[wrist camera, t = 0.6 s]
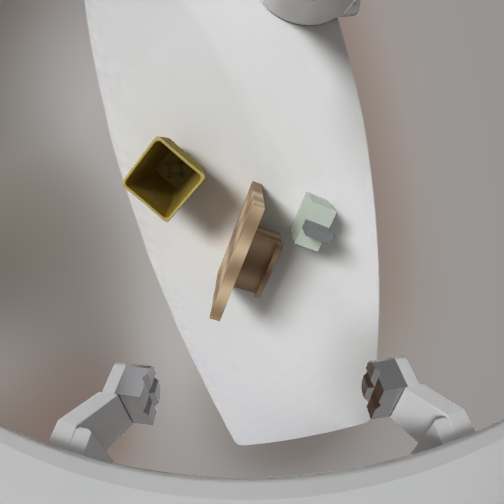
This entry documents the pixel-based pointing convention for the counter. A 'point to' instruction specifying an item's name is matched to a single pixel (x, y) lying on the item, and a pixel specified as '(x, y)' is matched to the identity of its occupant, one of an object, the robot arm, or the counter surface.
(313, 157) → the counter surface
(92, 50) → the counter surface
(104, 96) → the counter surface
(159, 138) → the flower pot
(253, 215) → the wall board
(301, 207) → the pale green box
